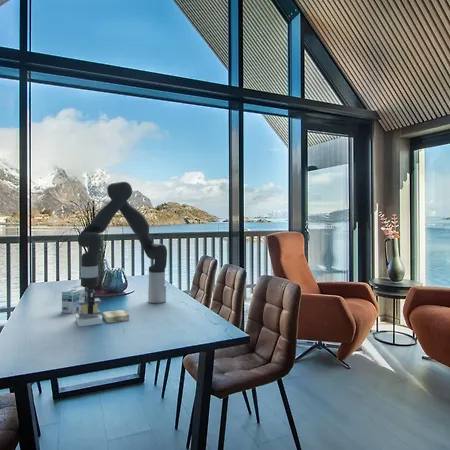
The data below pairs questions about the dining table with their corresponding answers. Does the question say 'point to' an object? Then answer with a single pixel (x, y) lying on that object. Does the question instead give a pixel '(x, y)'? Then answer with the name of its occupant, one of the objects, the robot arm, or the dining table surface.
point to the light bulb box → (72, 300)
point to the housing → (85, 307)
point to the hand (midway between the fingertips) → (89, 311)
